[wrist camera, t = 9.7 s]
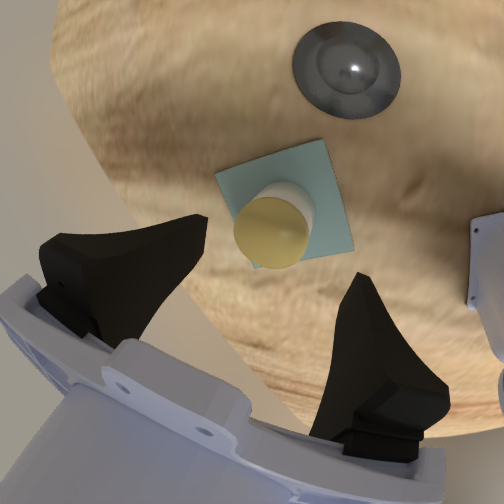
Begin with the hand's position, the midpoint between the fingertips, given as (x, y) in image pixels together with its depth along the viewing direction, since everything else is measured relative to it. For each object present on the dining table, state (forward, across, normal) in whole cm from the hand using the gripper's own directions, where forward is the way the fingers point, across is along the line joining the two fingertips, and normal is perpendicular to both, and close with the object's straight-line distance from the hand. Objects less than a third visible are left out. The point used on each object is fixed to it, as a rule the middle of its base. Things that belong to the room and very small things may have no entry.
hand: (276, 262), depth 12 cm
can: (+10, +1, +2) cm, 10 cm away
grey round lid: (+10, 0, -10) cm, 14 cm away
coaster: (+10, +1, +2) cm, 11 cm away
